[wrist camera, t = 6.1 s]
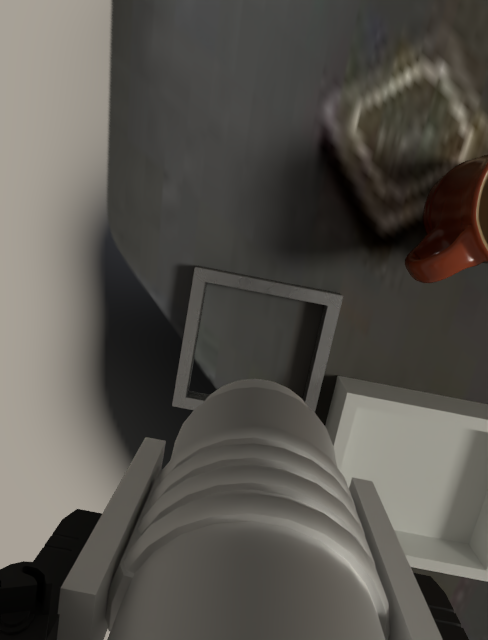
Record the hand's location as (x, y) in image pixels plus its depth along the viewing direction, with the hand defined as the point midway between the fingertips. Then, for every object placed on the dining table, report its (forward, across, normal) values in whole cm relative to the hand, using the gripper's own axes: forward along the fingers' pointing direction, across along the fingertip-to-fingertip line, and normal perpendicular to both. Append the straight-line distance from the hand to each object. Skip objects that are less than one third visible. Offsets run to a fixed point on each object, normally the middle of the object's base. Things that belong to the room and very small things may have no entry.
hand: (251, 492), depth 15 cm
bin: (+21, +15, -8) cm, 27 cm away
